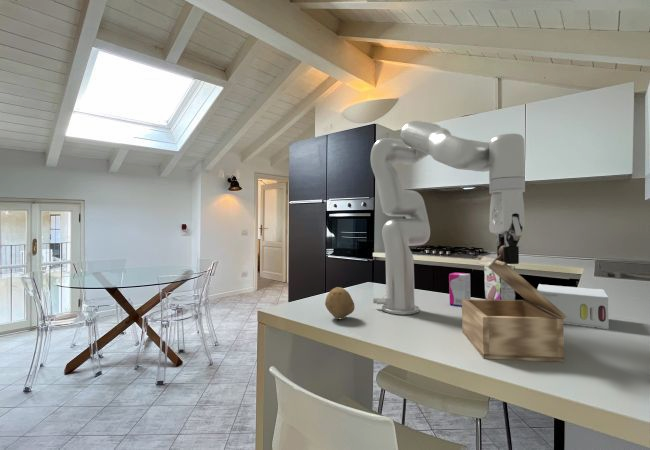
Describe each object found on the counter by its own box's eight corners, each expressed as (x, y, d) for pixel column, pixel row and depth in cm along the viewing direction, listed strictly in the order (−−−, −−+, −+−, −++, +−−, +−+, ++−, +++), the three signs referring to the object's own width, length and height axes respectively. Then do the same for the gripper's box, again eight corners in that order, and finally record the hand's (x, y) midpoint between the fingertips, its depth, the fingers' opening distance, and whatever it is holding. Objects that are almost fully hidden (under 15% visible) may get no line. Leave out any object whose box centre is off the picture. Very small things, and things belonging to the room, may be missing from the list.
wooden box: (483, 358, 72) (482, 317, 72) (462, 332, 89) (461, 299, 89) (564, 361, 69) (563, 319, 69) (526, 334, 87) (525, 300, 87)
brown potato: (320, 316, 107) (320, 286, 107) (345, 313, 111) (344, 283, 111) (332, 324, 99) (331, 290, 99) (358, 320, 102) (357, 288, 102)
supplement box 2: (536, 320, 99) (535, 289, 99) (538, 311, 110) (538, 283, 110) (609, 330, 89) (609, 296, 90) (604, 319, 100) (604, 288, 100)
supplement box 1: (471, 304, 120) (470, 273, 120) (465, 307, 116) (464, 275, 116) (455, 302, 124) (454, 272, 124) (449, 305, 120) (448, 273, 120)
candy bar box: (484, 308, 114) (483, 261, 114) (498, 308, 114) (497, 261, 114) (500, 317, 103) (499, 265, 103) (516, 317, 103) (515, 264, 103)
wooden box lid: (495, 269, 71) (521, 243, 70) (471, 260, 89) (491, 240, 88) (558, 324, 69) (585, 298, 68) (520, 303, 87) (541, 283, 87)
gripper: (480, 190, 88) (480, 259, 88) (502, 183, 72) (503, 267, 72) (510, 189, 87) (511, 259, 87) (540, 182, 71) (541, 267, 71)
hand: (507, 262), depth 79 cm, fingers closed on wooden box lid, 3 cm apart
